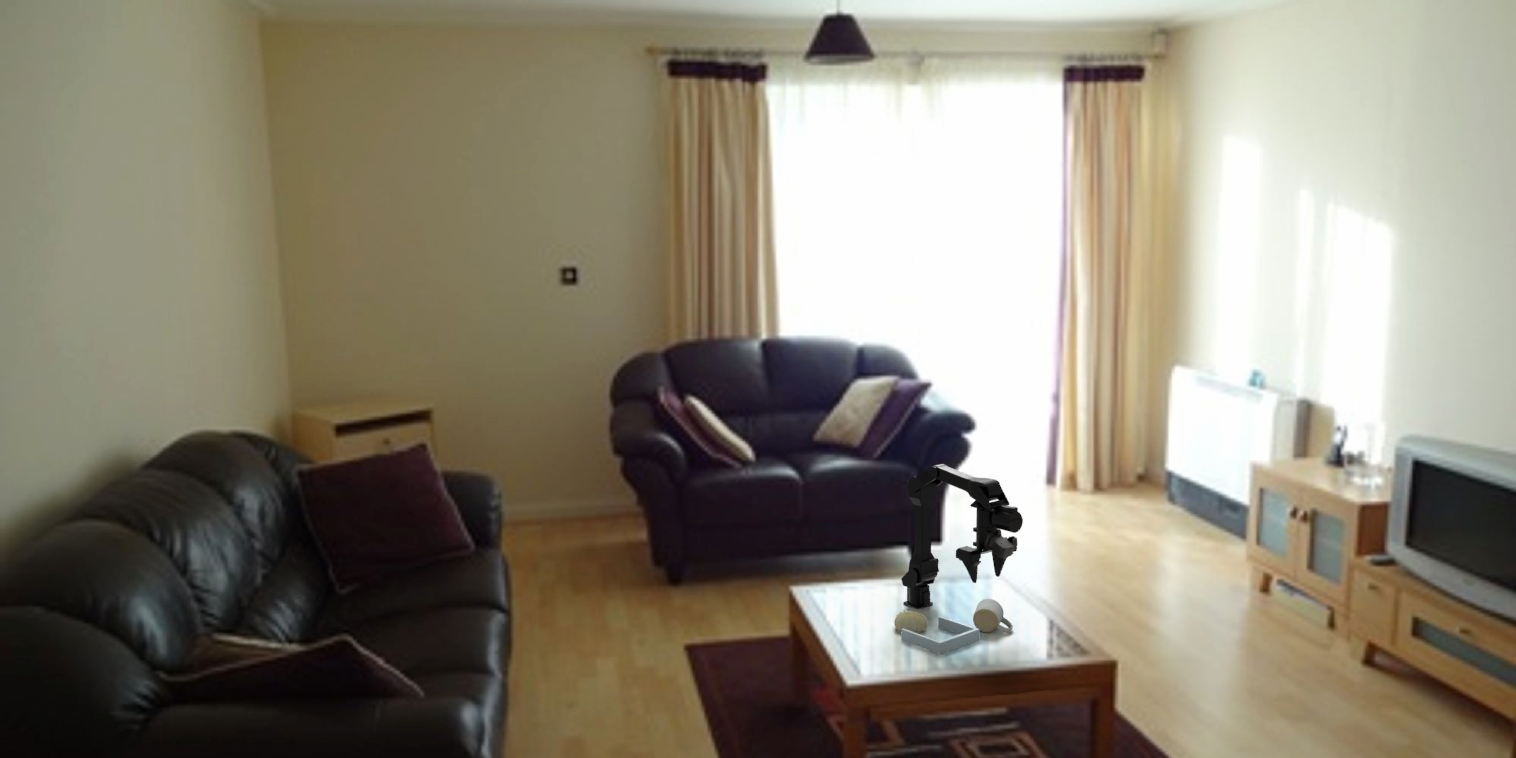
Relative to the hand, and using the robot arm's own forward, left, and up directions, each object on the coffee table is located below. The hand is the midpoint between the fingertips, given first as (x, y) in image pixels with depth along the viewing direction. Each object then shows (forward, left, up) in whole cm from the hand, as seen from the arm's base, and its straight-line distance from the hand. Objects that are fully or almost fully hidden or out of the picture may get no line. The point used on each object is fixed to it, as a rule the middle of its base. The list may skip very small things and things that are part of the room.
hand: (986, 579), depth 296 cm
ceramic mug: (+2, +1, -15) cm, 15 cm away
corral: (-3, -16, -14) cm, 22 cm away
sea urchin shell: (-14, -16, -15) cm, 26 cm away
